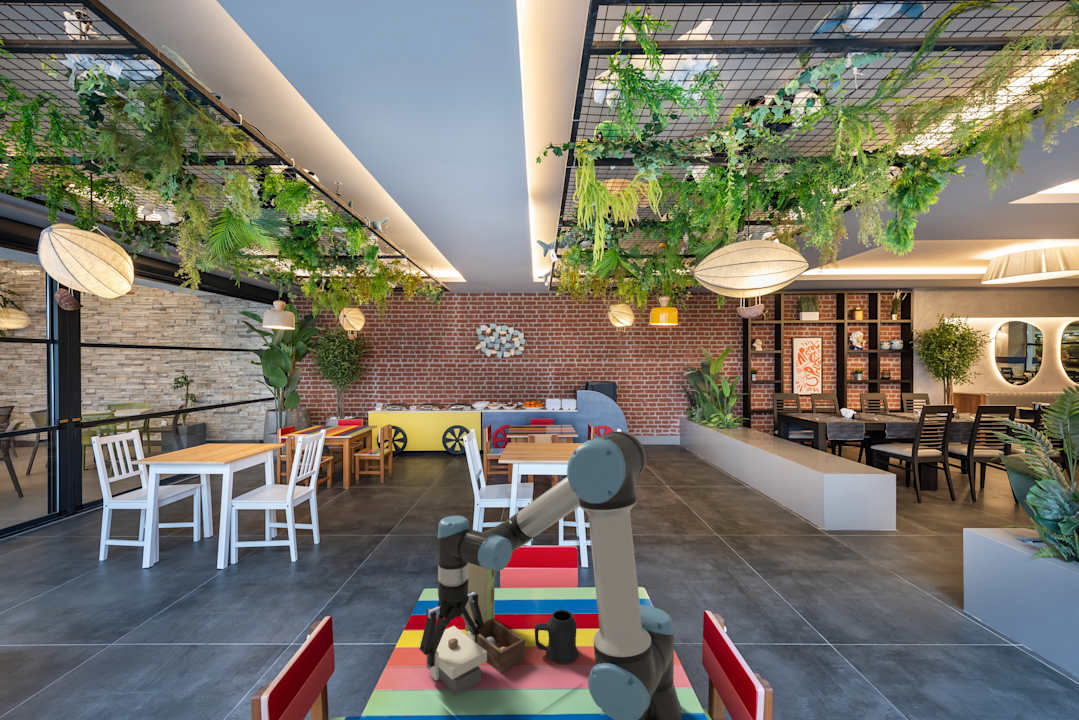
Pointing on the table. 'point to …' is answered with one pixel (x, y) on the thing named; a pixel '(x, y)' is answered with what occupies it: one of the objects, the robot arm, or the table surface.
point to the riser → (461, 680)
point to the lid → (458, 653)
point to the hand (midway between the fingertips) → (453, 667)
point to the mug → (559, 637)
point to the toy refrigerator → (481, 591)
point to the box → (501, 645)
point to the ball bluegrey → (491, 640)
